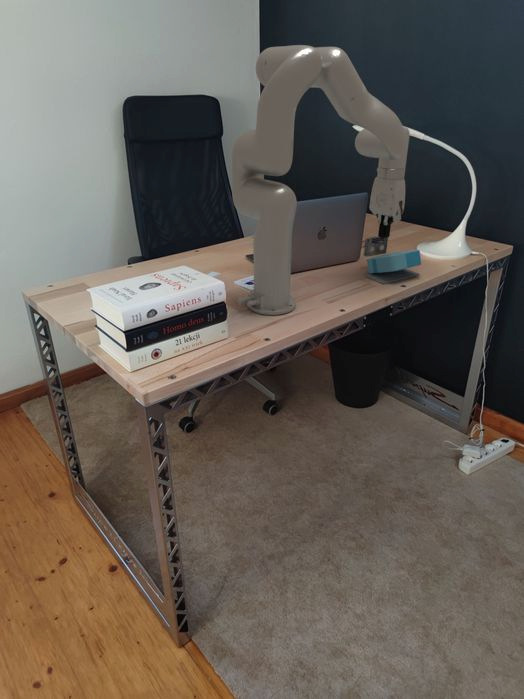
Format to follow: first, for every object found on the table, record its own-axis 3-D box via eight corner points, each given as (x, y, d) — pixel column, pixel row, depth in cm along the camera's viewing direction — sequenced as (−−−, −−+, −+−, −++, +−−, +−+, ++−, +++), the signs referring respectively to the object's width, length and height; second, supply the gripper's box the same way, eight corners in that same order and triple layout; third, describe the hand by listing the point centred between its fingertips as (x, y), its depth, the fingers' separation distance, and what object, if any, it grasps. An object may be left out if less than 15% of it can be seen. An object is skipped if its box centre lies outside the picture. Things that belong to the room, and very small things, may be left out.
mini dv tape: (383, 252, 175) (385, 234, 172) (386, 253, 174) (388, 236, 171) (363, 255, 172) (365, 237, 169) (366, 256, 171) (368, 239, 168)
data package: (366, 274, 155) (394, 271, 145) (364, 259, 155) (392, 255, 144) (394, 267, 161) (423, 264, 151) (392, 252, 160) (421, 249, 150)
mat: (383, 284, 148) (383, 283, 147) (364, 276, 154) (364, 275, 153) (419, 274, 155) (419, 273, 154) (400, 267, 161) (400, 266, 160)
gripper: (363, 171, 149) (357, 233, 157) (401, 179, 137) (392, 245, 146) (381, 169, 152) (375, 229, 161) (420, 176, 141) (411, 241, 150)
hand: (383, 236), depth 153 cm, fingers closed
